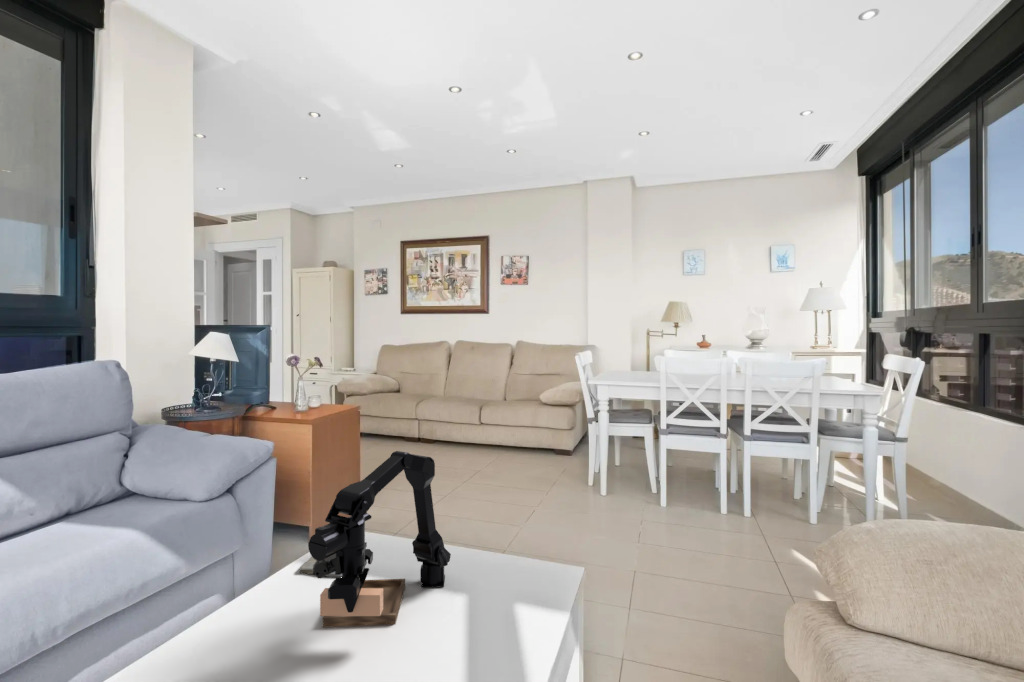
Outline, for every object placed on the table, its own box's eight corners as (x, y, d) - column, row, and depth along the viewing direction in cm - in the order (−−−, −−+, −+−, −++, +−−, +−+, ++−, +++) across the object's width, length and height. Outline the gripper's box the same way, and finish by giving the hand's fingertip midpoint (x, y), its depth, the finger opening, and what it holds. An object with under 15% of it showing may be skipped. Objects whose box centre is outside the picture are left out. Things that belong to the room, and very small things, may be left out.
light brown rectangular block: (383, 608, 117) (383, 588, 117) (379, 616, 114) (379, 595, 114) (325, 608, 117) (325, 588, 117) (320, 615, 114) (320, 594, 114)
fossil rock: (318, 552, 164) (318, 545, 164) (362, 553, 164) (362, 546, 164) (294, 578, 147) (294, 570, 147) (343, 579, 146) (343, 572, 146)
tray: (405, 586, 142) (405, 578, 142) (395, 624, 124) (395, 614, 124) (341, 588, 140) (341, 580, 140) (322, 627, 122) (322, 617, 122)
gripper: (328, 527, 124) (328, 588, 124) (303, 562, 105) (303, 633, 106) (373, 526, 125) (373, 586, 125) (356, 561, 106) (356, 631, 107)
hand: (352, 607), depth 116 cm, fingers closed on light brown rectangular block, 3 cm apart
